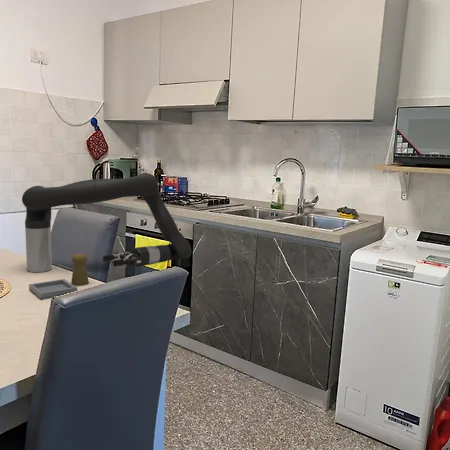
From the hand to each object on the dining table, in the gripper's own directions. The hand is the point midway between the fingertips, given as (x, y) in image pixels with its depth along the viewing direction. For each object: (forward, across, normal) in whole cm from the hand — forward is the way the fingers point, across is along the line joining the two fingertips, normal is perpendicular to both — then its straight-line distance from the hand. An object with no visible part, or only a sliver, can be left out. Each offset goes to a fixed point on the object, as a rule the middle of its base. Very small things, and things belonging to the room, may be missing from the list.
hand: (108, 261), depth 167 cm
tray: (+22, +4, +7) cm, 23 cm away
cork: (+11, 0, +7) cm, 13 cm away
